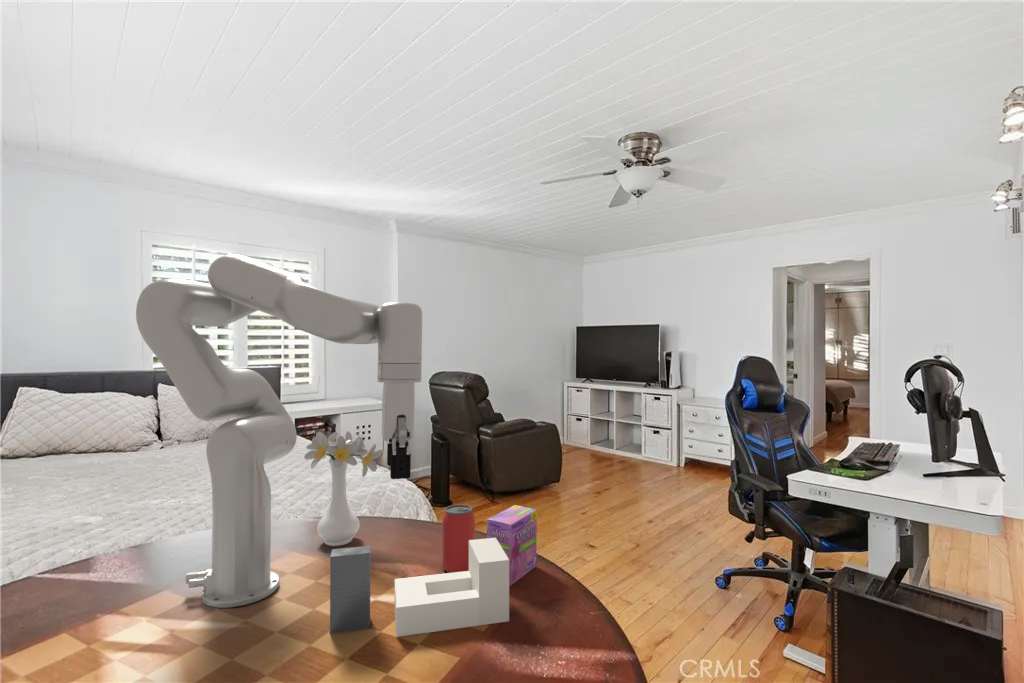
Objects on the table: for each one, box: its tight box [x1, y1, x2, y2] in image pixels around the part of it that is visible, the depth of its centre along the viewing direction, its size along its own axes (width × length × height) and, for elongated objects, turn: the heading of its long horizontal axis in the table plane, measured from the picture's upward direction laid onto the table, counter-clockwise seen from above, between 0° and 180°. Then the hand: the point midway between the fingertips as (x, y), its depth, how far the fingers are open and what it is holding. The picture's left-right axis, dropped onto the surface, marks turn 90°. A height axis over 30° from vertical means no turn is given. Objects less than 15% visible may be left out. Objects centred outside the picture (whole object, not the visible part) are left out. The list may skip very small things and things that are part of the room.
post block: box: [394, 537, 510, 638], centre depth 85 cm, size 18×10×10 cm, turn 105°
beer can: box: [442, 504, 476, 573], centre depth 103 cm, size 7×7×12 cm
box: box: [486, 504, 538, 587], centre depth 100 cm, size 10×6×12 cm, turn 148°
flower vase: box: [304, 430, 384, 547], centre depth 117 cm, size 13×18×25 cm
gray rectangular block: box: [329, 545, 372, 635], centre depth 81 cm, size 6×3×12 cm, turn 105°
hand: (398, 471), depth 88 cm, fingers open, 9 cm apart
